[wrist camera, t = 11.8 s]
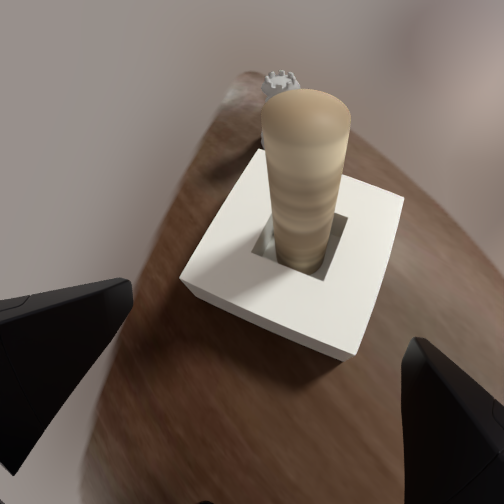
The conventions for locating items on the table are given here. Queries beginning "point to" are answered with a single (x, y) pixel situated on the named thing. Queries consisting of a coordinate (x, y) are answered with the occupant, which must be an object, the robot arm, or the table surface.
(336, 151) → the peg
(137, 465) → the table surface
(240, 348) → the table surface
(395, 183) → the table surface
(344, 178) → the block
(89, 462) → the table surface
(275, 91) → the rook chess piece
